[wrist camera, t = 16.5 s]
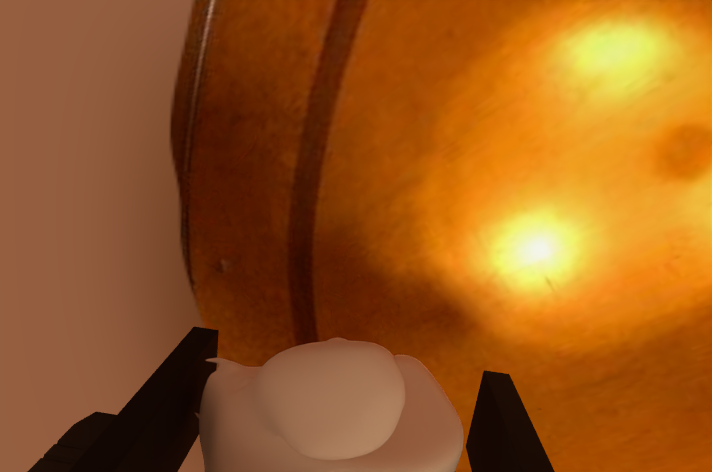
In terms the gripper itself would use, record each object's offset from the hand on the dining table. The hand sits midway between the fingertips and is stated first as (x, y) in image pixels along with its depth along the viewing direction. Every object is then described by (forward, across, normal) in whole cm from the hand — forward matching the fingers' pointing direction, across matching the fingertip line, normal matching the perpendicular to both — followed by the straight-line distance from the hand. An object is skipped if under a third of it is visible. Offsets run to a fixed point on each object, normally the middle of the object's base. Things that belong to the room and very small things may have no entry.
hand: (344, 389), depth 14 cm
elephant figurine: (0, 0, 0) cm, 0 cm away
